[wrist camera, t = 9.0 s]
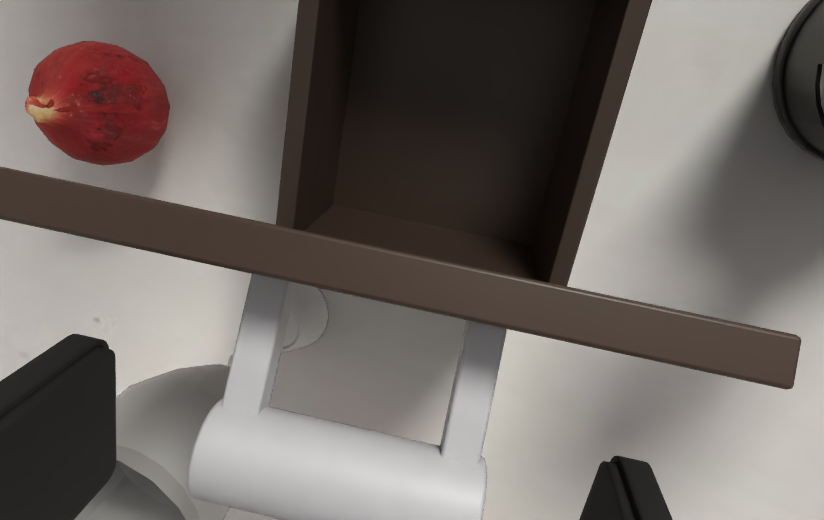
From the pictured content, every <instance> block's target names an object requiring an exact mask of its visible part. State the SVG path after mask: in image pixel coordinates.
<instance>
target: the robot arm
mask: <svg viewBox="0 0 824 520" xmlns="http://www.w3.org/2000/svg"><path fill="white" fill-rule="evenodd" d="M115 466H116V373H115V353H114V351H112V350H110V349H109V346H108V344H107V342H106V341H104V340H101V339H97V338H92V337H88V336H84V335H79V334H72V335H70V336H67V337H66V338H64V339H63V340H61V341H60V342H59V343H57V344H56V345H54V346H53V347H51V348H50V349H48V350H47V351H45V352H44V353H42V354H41V355H39V356H38V357H36V358H35V359H33V360H32V361H30V362H29V363H27V364H26V365H24V366H23V367H21V368H20V369H18V370H17V371H15V372H14V373H12V374H11V375H9V376H8V377H6V378H5V379H3V380H2V381H0V520H74V519H75V518H76V517H77V516H78V515H79V514H80V513H81V511H82V510H83V509H84V508H85V507H86V506H87V505H88V504H89V502H90V501H91V500H92V499H93V498H94V497H95V496H96V495H97V493H98V492H99V491H100V490H101V489H102V488H103V487H104V486H105V484H106V483H107V482H108V481H109V479H110V478H111V476H112V474H113V472H114V470H115ZM580 520H672V517H671V515H670V512H669V510H668V507H667V505H666V503H665V500H664V498H663V495H662V493H661V490H660V488H659V486H658V483H657V481H656V478H655V476H654V473H653V471H652V468H651V467H650V465H649V464H648V463H647V462H643V461H639V460H635V459H630V458H626V457H621V456H614V457H613V458H612V459H611V461H610V462H606V461H603V462H602V463H601V464H600V466H599V469H598V471H597V474H596V477H595V479H594V482H593V485H592V487H591V490H590V493H589V495H588V498H587V501H586V503H585V506H584V509H583V511H582V514H581V517H580Z"/></svg>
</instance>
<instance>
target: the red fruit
mask: <svg viewBox="0 0 824 520" xmlns="http://www.w3.org/2000/svg"><path fill="white" fill-rule="evenodd" d="M28 91H29V97H27V100H26V102H25V107H26V112H27V113H28V114H29V115H31V116H32V117H33V118H34V120H35V123H36V125H37V126H38V127H39V128H40V130H41V131H42V132H43V133H44V135H45V136H46V137H47V138H48V139H49V141H50V142H51V143H52V144H54V145H55V146H56V147H58V148H59V149H61V150H62V151H63V152H65V153H66V154H67V155H69V156H71V157H72V158H74V159H77V160H81V161H85V162H89V163H93V164H98V165H113V164H119V163H125V162H131V161H133V160H135V159H137V158H139V157H140V156H142V155H144V154H145V153H147V152H148V151H150V150H152V149H153V148H155V146H156V145H157V143H158V142H159V140H160V138H161V137H162V135H163V134H164V132H165V130H166V127H167V121H168V115H169V109H170V105H169V101H168V98H167V94H166V90H165V87H164V85H163V83H162V82H161V81H160V79H159V78H158V76H157V75H156V74H155V72H154V71H153V70H152V68H151V67H150V66H149V64H148V63H147V62H146V61H144V60H142V59H141V58H139V57H137V56H136V55H134V54H132V53H130V52H129V51H127V50H125V49H123V48H121V47H119V46H117V45H111V44H106V43H100V42H95V41H83V42H79V43H75V44H72V45H68V46H65V47H61V48H59V49H57V50H55V51H53V52H52V53H51V54H50V55H48V56H47V57H46V58H45V59H44V60H42V61H41V62H40V63H39V64H38V65H37V66H36V68H35V69H34V73H33V76H32V79H31V82H30V85H29V90H28Z"/></svg>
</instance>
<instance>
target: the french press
mask: <svg viewBox="0 0 824 520" xmlns="http://www.w3.org/2000/svg"><path fill="white" fill-rule="evenodd" d="M822 64H824V0H810V1H809V2H808V3H807V4H806V5H805V7H804V8H803V9H802V11H801V12H800V13H799V15H798V16H797V17H796V19H795V20H794V21H793V23H792V24H791V26H790V28H789V30H788V32H787V34H786V36H785V38H784V39H783V41H782V43H781V46H780V49H779V53H778V56H777V59H776V62H775V67H774V76H773V95H774V104H775V107H776V110H777V113H778V116H779V120H780V122H781V123H782V125H783V127H784V128H785V130H786V131H787V133H788V135H789V136H790V137H791V138H792V139H793V140H794V141H795V142H796V143H797V144H798V145H799V146H800V147H801V148H802V149H803V150H805V151H806V152H808V153H810V154H811V155H813V156H815V157H816V158H818V159H821V160H824V113H823V110H822V106H821V98H820V78H821V71H822Z"/></svg>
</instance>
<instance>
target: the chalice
mask: <svg viewBox="0 0 824 520" xmlns="http://www.w3.org/2000/svg"><path fill="white" fill-rule="evenodd" d="M327 321H328V309H327V303H326V301H325V299H324V297H323V295H322V293H321V291H320V290H319V289H318V288H316V287H312V286H307V285H303V284H298V283H297V284H296V289H295V293H294V298H293V302H292V306H291V311H290V315H289V320H288V324H287V329H286V333H285V337H284V342H283V346H282V351H281V352H288V351H291V350H295V349H298V348H302V347H305V346H308V345H311V344H312V343H313V342H315V341H316V340H317V339H319V338H320V337H321V335H322V333H323V332H324V330H325V329H326V325H327ZM233 354H234V353H233ZM233 354H232V355H231V356H230V358H229V361H228V366H229V367H228V366H225V365H221V364H218V365H205V366H196V367H188V368H180V369H176V370H173V371H170V372H167V373H164V374H161V375H158V376H155V377H152V378H149V379H147V380H144V381H142V382H139V383H136V384H134V385H131V386H129V387H128V388H127V389H126V390H124V391H123V392H122V393H121V394H120V395H119V396H118V397H117V398H116V466H115V470H114V472H113V474H112V476H111V478H110V479H109V481H108V482H107V483H106V484H105V486H104V487H103V488H102V489H101V490H100V491H99V492H98V493H97V495H96V496H95V497H94V498H93V499H92V500H91V501H90V502H89V504H88V505H87V506H86V507H85V508H84V509H83V510H82V511H81V513H80V514H79V515H78V516H77V517H76V518H75V519H74V520H223V519H224V517H225V515H226V513H227V512H228V510H229V508H230V507H227V506H223V505H218V504H214V503H210V502H206V501H202V500H198V499H194V498H193V497H192V496H190V494H189V492H188V489H187V473H188V466H189V461H190V457H191V453H192V449H193V446H194V443H195V440H196V438H197V435H198V433H199V430H200V428H201V426H202V424H203V422H204V420H205V418H206V417H207V415H208V413H209V412H210V410H211V409H212V407H213V406H214V405H215V404H216V403H217V402H218V401H219V400H221V399H223V397H224V393H225V388H226V384H227V380H228V375H229V371H230V367H231V362H232V358H233Z"/></svg>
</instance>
